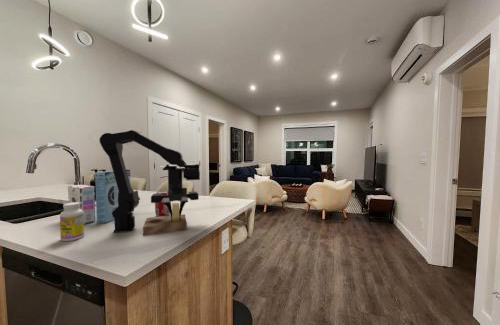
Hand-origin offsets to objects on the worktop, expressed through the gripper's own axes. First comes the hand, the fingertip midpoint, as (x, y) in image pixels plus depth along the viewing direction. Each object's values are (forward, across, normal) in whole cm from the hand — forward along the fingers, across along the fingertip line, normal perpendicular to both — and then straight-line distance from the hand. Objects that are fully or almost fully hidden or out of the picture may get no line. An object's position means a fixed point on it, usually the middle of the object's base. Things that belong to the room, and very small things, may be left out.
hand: (175, 216), depth 92 cm
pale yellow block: (+2, 0, 0) cm, 3 cm away
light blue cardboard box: (+4, -28, +25) cm, 38 cm away
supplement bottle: (+4, -36, -1) cm, 36 cm away
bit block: (+4, -4, 0) cm, 6 cm away
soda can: (+4, -6, +19) cm, 20 cm away
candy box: (+4, -41, +23) cm, 47 cm away
